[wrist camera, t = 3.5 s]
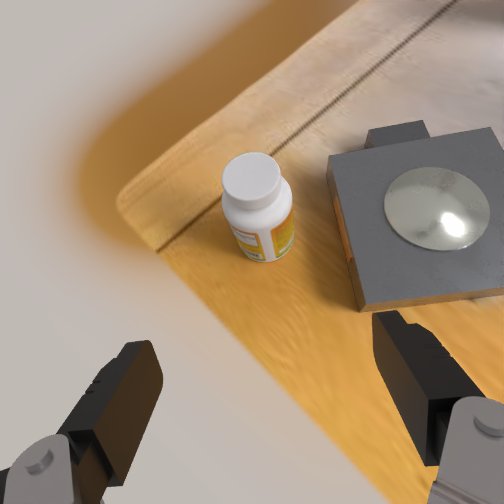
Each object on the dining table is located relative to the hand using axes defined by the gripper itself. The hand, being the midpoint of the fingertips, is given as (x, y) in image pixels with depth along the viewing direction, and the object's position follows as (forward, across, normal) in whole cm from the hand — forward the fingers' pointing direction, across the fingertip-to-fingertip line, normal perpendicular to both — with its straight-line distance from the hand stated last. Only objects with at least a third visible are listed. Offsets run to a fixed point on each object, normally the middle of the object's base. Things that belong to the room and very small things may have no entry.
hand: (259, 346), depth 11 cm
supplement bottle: (+18, 0, +2) cm, 19 cm away
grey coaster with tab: (+19, -14, +2) cm, 23 cm away
